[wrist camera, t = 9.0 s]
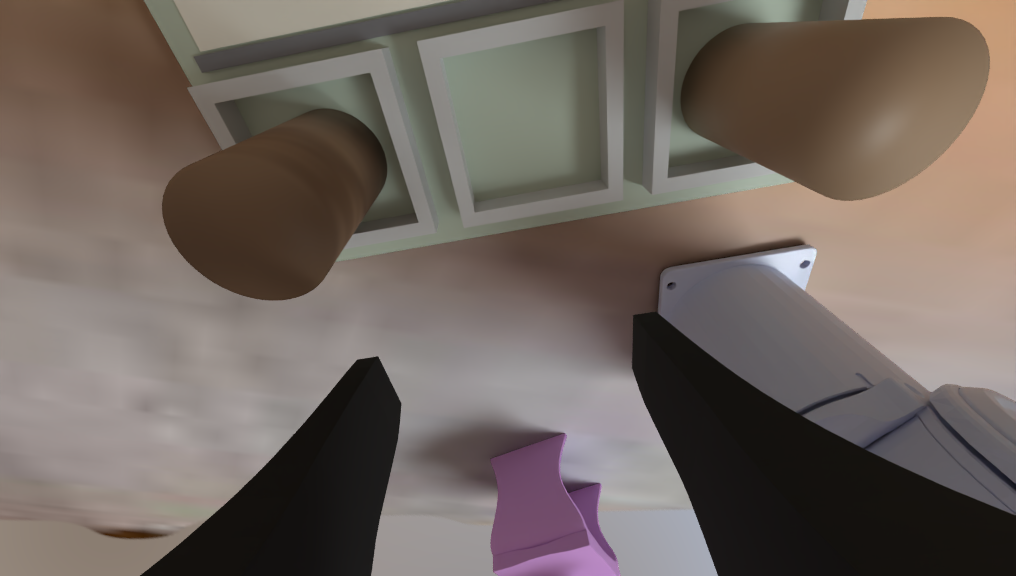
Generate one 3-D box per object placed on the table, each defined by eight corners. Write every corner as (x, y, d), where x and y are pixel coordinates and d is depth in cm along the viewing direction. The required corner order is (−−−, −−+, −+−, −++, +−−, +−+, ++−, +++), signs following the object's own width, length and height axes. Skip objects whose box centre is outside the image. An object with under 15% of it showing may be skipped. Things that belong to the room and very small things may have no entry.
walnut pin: (400, 198, 17) (356, 286, 11) (313, 215, 17) (224, 311, 11) (364, 98, 14) (284, 142, 9) (265, 120, 15) (122, 177, 9)
